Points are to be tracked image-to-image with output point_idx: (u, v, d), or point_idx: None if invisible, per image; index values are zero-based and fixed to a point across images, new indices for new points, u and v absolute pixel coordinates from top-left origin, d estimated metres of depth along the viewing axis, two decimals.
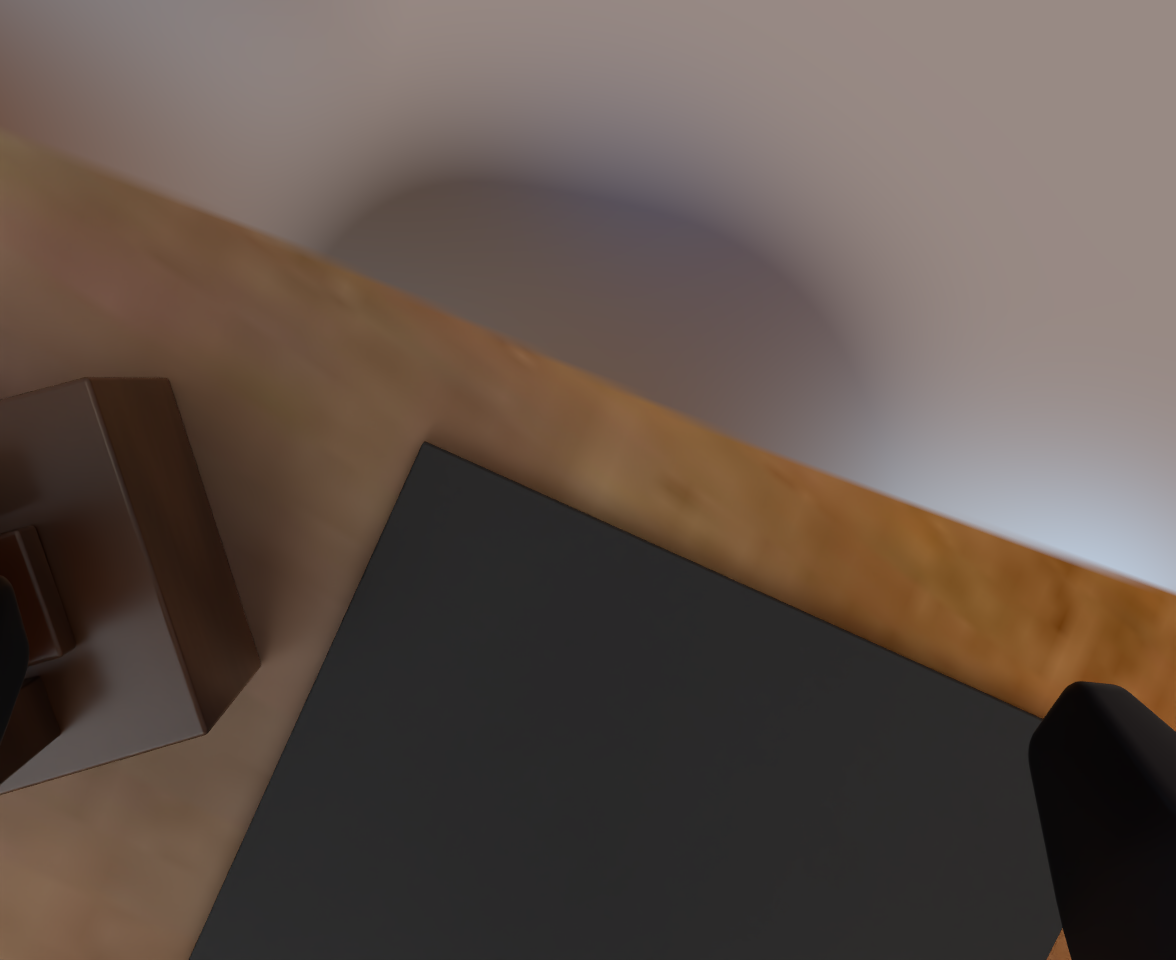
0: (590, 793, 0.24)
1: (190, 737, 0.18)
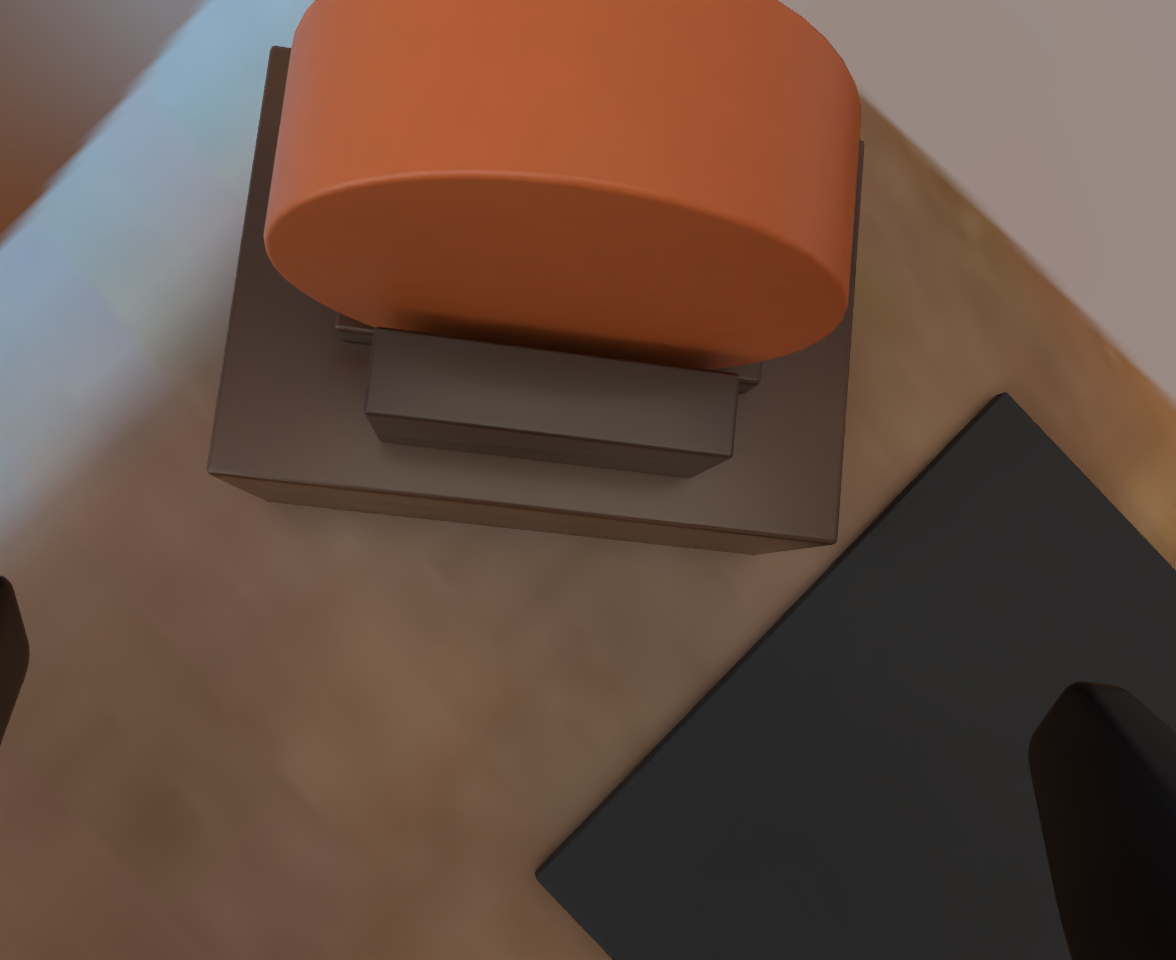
0: None
1: (819, 539, 0.16)
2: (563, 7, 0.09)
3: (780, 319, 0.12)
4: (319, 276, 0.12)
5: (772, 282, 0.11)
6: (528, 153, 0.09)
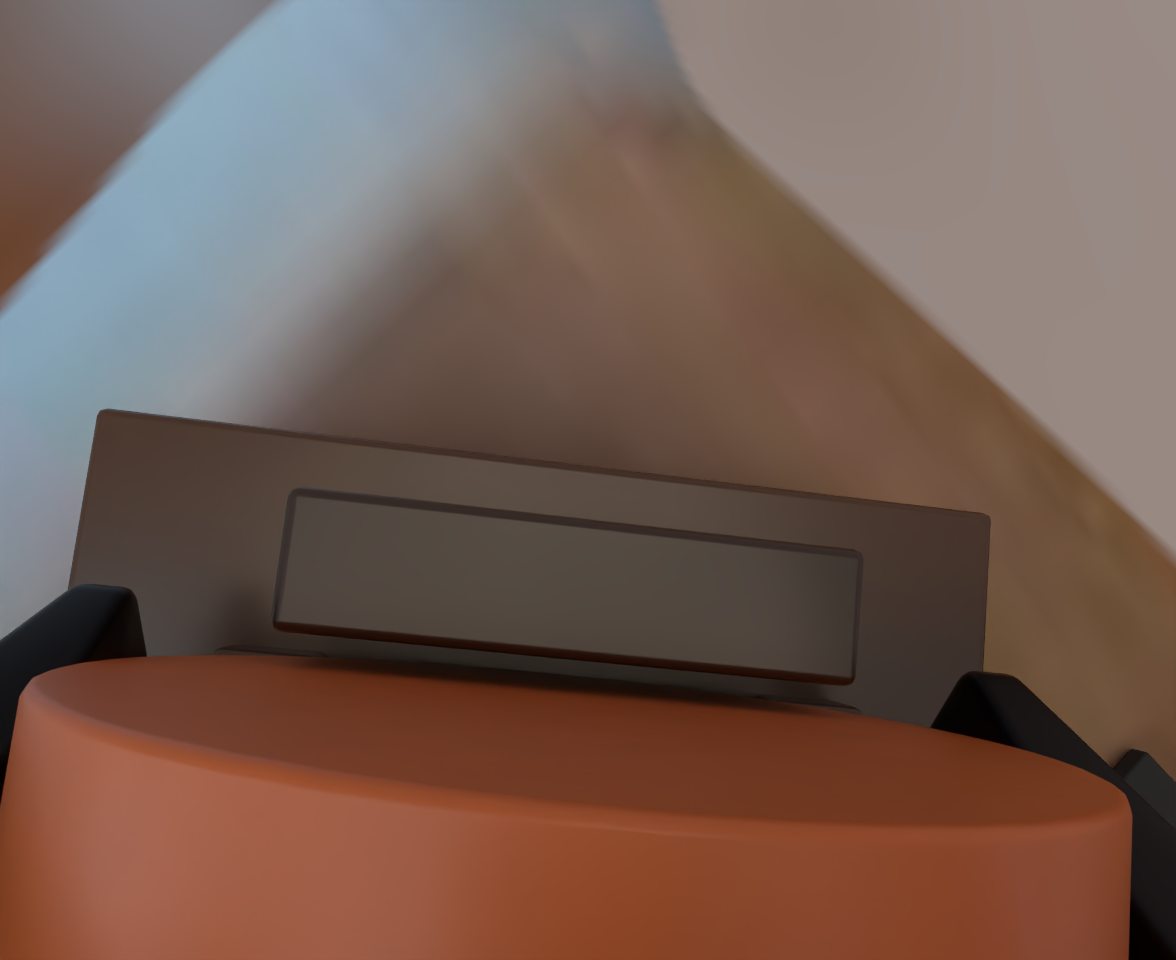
0: None
1: None
2: None
3: None
4: None
5: None
6: None
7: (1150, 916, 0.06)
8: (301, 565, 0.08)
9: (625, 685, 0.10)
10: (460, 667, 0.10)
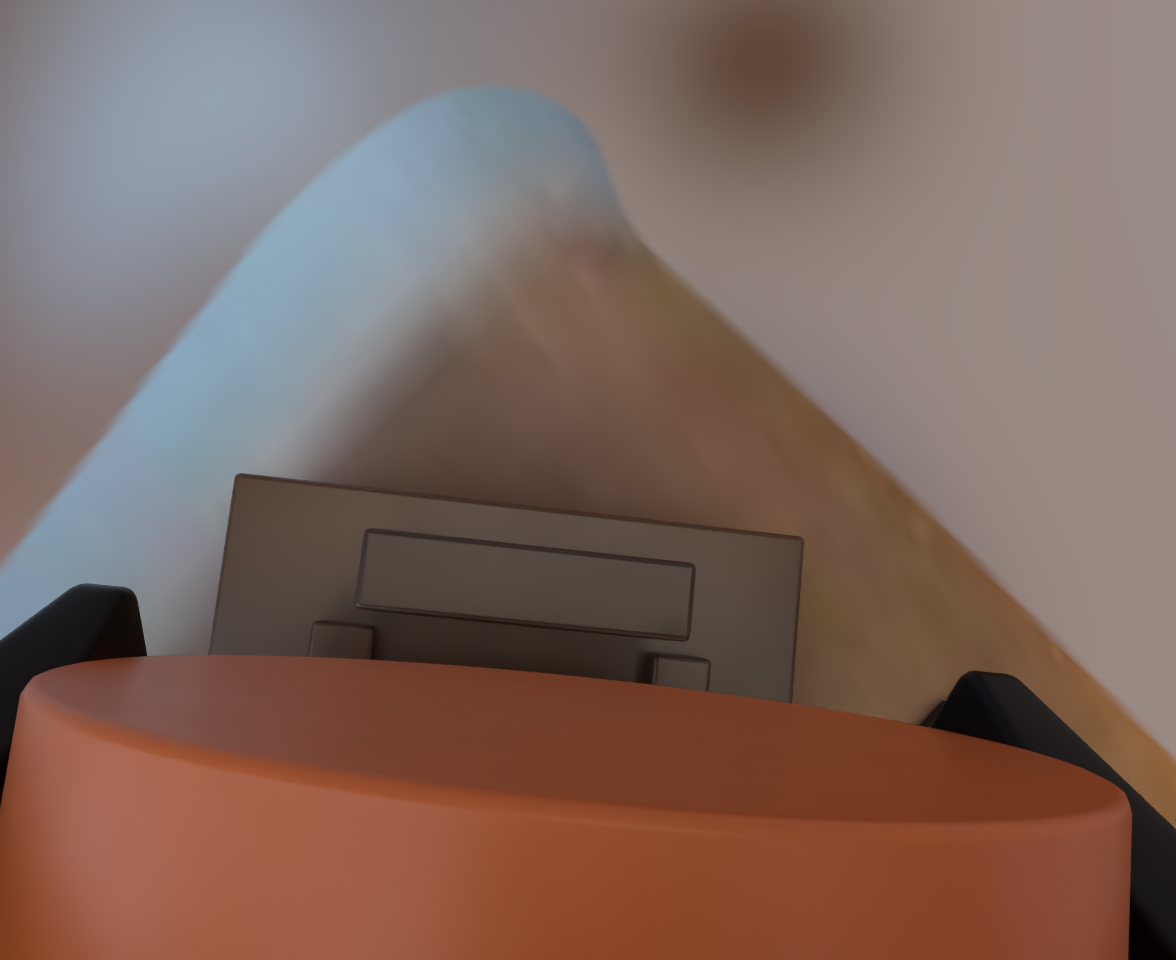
0: None
1: None
2: None
3: None
4: None
5: None
6: None
7: (1151, 916, 0.06)
8: (371, 572, 0.14)
9: (625, 685, 0.10)
10: (460, 667, 0.10)
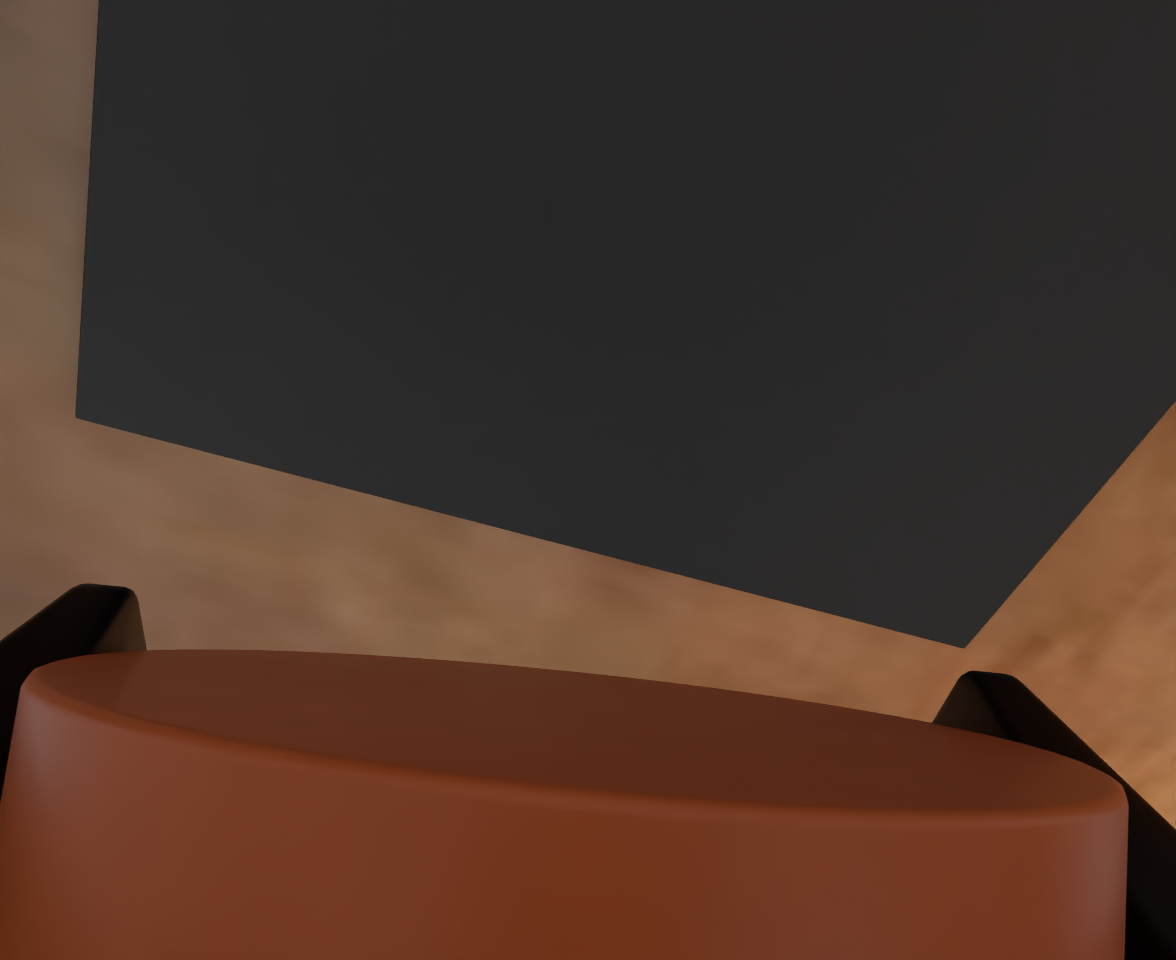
0: (556, 156, 0.16)
1: None
2: None
3: None
4: None
5: None
6: None
7: (1150, 916, 0.06)
8: None
9: (625, 680, 0.10)
10: (460, 663, 0.10)
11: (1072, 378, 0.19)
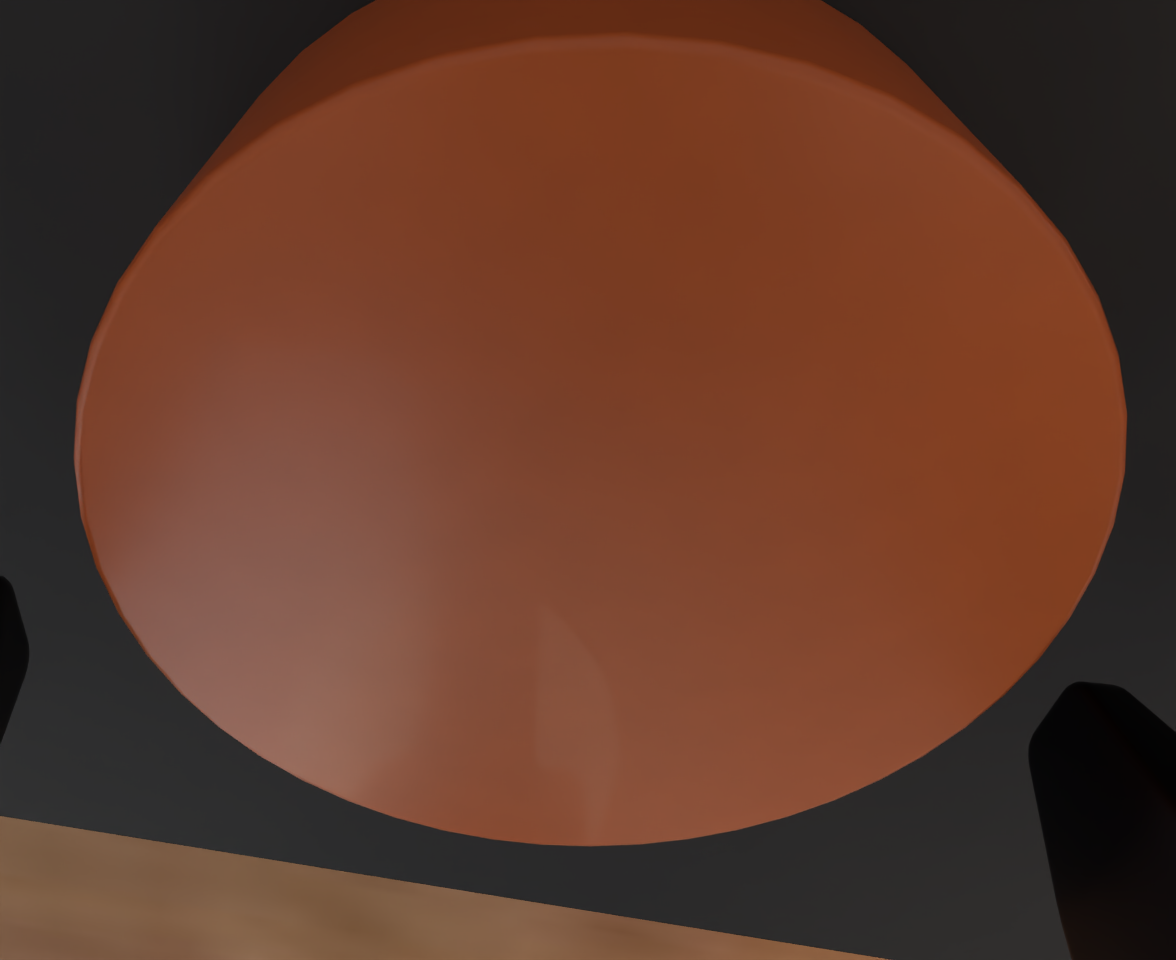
0: None
1: None
2: None
3: (995, 575, 0.07)
4: (165, 540, 0.07)
5: (1012, 420, 0.06)
6: (634, 23, 0.05)
7: None
8: None
9: None
10: None
11: None
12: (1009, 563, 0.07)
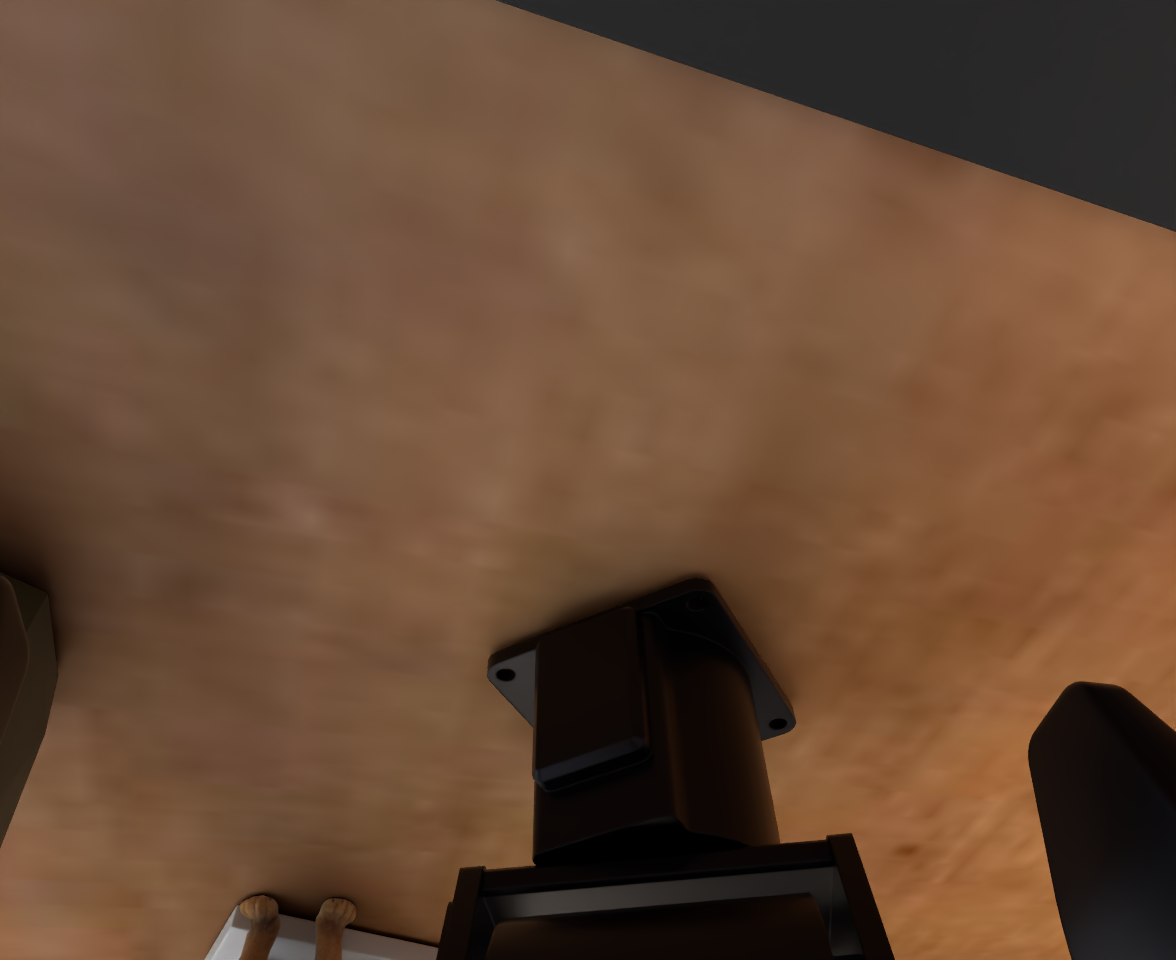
0: None
1: None
2: None
3: None
4: None
5: None
6: None
7: None
8: None
9: None
10: None
11: None
12: None
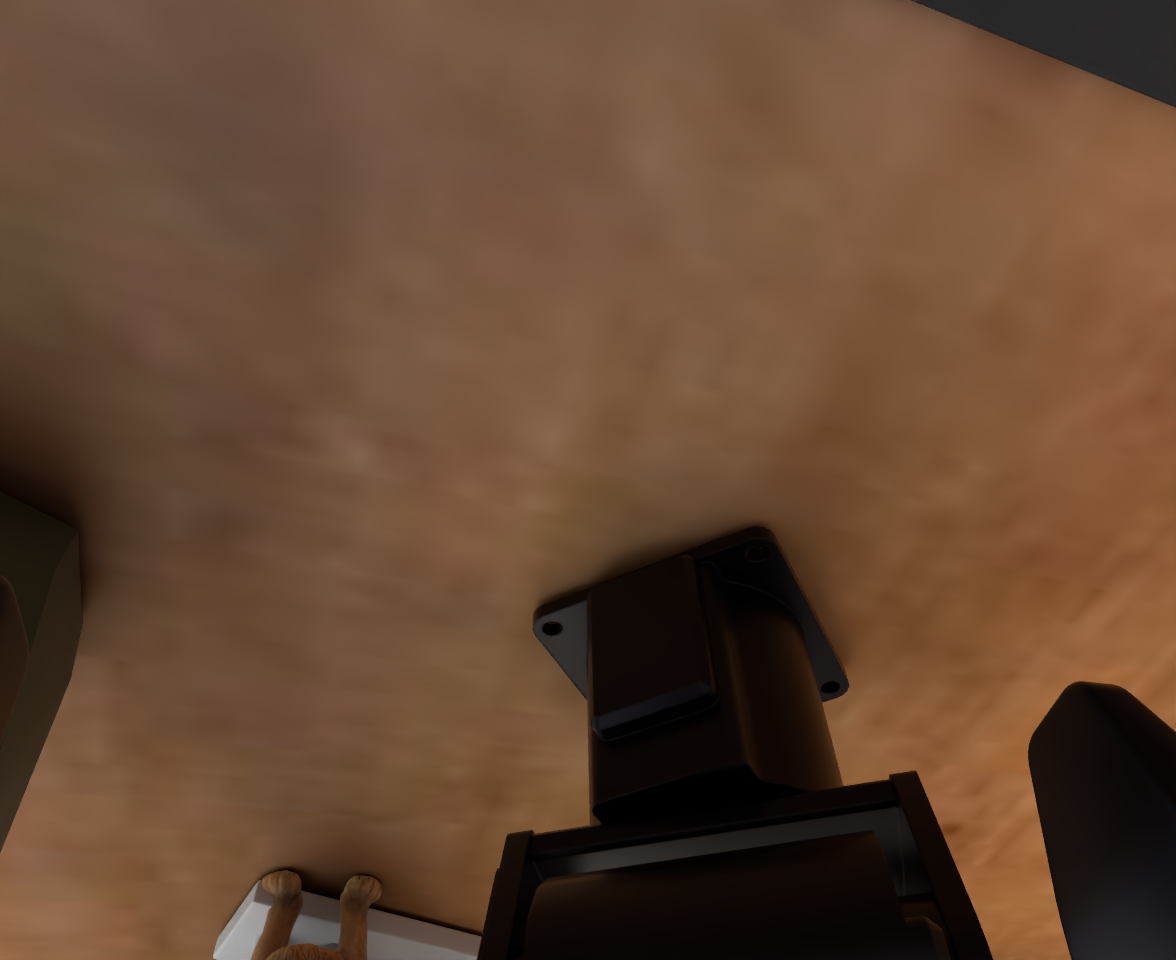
0: None
1: None
2: None
3: None
4: None
5: None
6: None
7: None
8: None
9: None
10: None
11: None
12: None
